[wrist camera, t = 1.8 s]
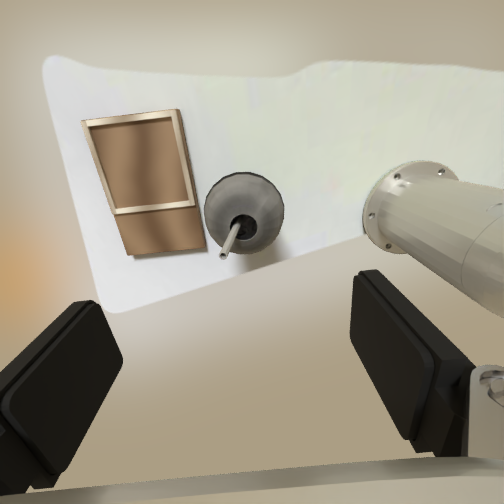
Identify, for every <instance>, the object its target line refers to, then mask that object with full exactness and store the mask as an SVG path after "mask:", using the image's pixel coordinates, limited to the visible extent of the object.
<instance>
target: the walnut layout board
mask: <svg viewBox="0 0 504 504" xmlns="http://www.w3.org/2000/svg"><path fill="white" fill-rule="evenodd" d="M80 122H81V125H82V128H83V131H84V134H85V137H86V139H87V142H88V145H89V148H90V151H91V154H92V157H93V160H94V163H95V165H96V168H97V171H98V174H99V177H100V180H101V183H102V186H103V189H104V192H105V194H106V197H107V200H108V203H109V206H110V209H111V212H112V214H113V215H114V218H115V221H116V223H117V226H118V229H119V232H120V235H121V238H122V241H123V244H124V247H125V250H126V253H127V255H128V256H129V255H139V254H148V253H157V252H167V251H176V250H186V249H195V248H204V247H205V246H206V241H205V236H204V231H203V226H202V221H201V216H200V211H199V206H198V201H197V196H196V191H195V186H194V181H193V175H192V170H191V165H190V160H189V155H188V150H187V145H186V140H185V135H184V130H183V125H182V120H181V115H180V110H179V109H171V110H163V111H154V112H146V113H138V114H130V115H122V116H113V117H105V118H97V119H89V120H81V121H80Z"/></svg>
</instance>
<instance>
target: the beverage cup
mask: <svg viewBox="0 0 504 504" xmlns="http://www.w3.org/2000/svg"><path fill="white" fill-rule="evenodd" d="M204 215H205V223H206V227H207V229H208V231H209V233H210V236H211V237H212V238H213V239H214V240H215V241H216V243H217V244H218V245H219V246H221V247H222V250H221V252H220V254H219V257H220V258H221V259H223V260H224V259H226V258H227V256H228V254H229V252H233V253H236V254H253V253H256V252H259V251H261V250H263V249H264V248H266V247H267V246H269V245H270V244H271V243H272V242H273V241H274V240H275V238H276V237H277V236H278V234H279V232H280V229H281V226H282V223H283V220H284V204H283V201H282V197H281V194H280V193H279V191H278V190H277V189H276V187H275V186H274V184H273V183H271V182H270V181H269V180H267V179H266V178H264V177H263V176H261V175H258V174H254V173H251V172H236V173H233V174H230V175H227V176H225V177H223V178H222V179H220V180H219V181H218V182H217V183H216V184H214V185H213V187H212V188H211V190H210V191H209V193H208V195H207V196H206V201H205V205H204Z"/></svg>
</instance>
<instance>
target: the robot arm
mask: <svg viewBox="0 0 504 504" xmlns="http://www.w3.org/2000/svg"><path fill="white" fill-rule="evenodd" d="M394 175H395V177H394ZM370 213H371V214H370ZM369 214H370V215H369ZM363 224H364V228H365V231H366V233H367V235H368V237H369V238H370V240H371V241H372V242H373V243H374V244H375V245H377V246H378V247H379V248H381V249H383V250H384V251H387V252H391V253H396V254H406V253H408V254H409V255H410V256H412V257H413V258H415V259H416V260H417V261H419V262H420V263H422V264H423V265H424V266H426V267H427V268H429V269H430V270H431V271H433V272H434V273H436V274H437V275H438V276H440V277H441V278H443V279H444V280H446V281H447V282H448V283H450V284H451V285H453V286H454V287H455V288H457V289H458V290H460V291H461V292H462V293H464V294H465V295H467V296H468V297H470V298H471V299H472V300H474V301H476V302H477V303H478V304H480V305H481V306H483V307H484V308H486V309H487V310H489V311H491V312H492V313H494V314H496V315H498V316H500V317H503V318H504V189H499V188H494V187H489V186H484V185H479V184H474V183H469V182H463V181H459V179H458V178H457V176H456V175H455V173H454V172H453V171H452V170H451V169H449V168H448V167H447V166H445V165H442V164H440V163H436V162H432V161H414V162H410V163H406V164H403V165H401V166H399V167H397V168H395V169H393V170H392V171H390V172H389V173H387V174H386V175H385V176H384V177H383V178H382V179H381V180H380V181H379V182H378V183H377V184H376V185H375V186H374V188H373V189H372V191H371V192H370V194H369V196H368V198H367V200H366V204H365V207H364V212H363ZM350 339H351V342H352V344H353V346H354V348H355V350H356V352H357V354H358V356H359V358H360V359H361V361H362V363H363V365H364V367H365V369H366V371H367V373H368V375H369V377H370V378H371V380H372V382H373V384H374V386H375V388H376V390H377V392H378V393H379V395H380V397H381V399H382V401H383V403H384V405H385V407H386V409H387V411H388V412H389V414H390V416H391V418H392V420H393V422H394V424H395V426H396V428H397V429H398V431H399V433H400V435H401V436H402V437H403V439H405V440H409V441H410V443H411V445H412V446H413V448H414V450H415V452H416V453H423V452H433V454H434V455H435V457H426V458H411V459H398V460H397V459H396V460H383V461H367V462H353V463H342V464H331V465H320V466H308V467H297V468H286V469H274V470H263V471H252V472H241V473H230V474H220V475H209V476H198V477H188V478H177V479H167V480H156V481H146V482H135V483H125V484H115V485H106V486H95V487H86V488H85V487H84V488H75V489H65V490H55V491H45V492H36V493H26V491H27V489H28V488H29V486H30V485H31V486H32V487H33V488H34V489H43V488H52V487H54V485H55V483H56V482H57V480H58V478H59V476H60V474H61V473H62V472H64V471H65V470H66V469H67V468H68V466H69V464H70V462H71V461H72V459H73V457H74V455H75V453H76V451H77V449H78V447H79V446H80V444H81V442H82V440H83V438H84V436H85V434H86V433H87V431H88V429H89V427H90V425H91V423H92V421H93V420H94V418H95V416H96V414H97V412H98V410H99V408H100V406H101V405H102V403H103V401H104V399H105V397H106V395H107V393H108V392H109V390H110V388H111V386H112V384H113V382H114V380H115V379H116V377H117V375H118V373H119V371H120V369H121V367H122V364H123V357H122V354H121V352H120V350H119V347H118V345H117V343H116V341H115V338H114V336H113V334H112V331H111V329H110V327H109V325H108V322H107V320H106V318H105V315H104V313H103V311H102V308H101V306H100V305H99V304H97V303H96V302H94V301H92V300H87V301H78V302H74V303H72V304H71V305H70V306H69V307H68V308H67V309H66V310H65V311H64V312H63V313H62V314H61V315H60V316H59V317H57V318H56V320H54V321H53V322H52V323H51V324H50V325H49V326H48V327H47V328H46V329H45V330H44V331H43V332H42V333H41V334H40V335H39V336H38V337H37V338H36V339H35V340H34V341H33V342H31V343H30V344H29V345H28V346H27V347H26V348H25V349H24V350H23V351H22V352H21V353H20V354H19V355H18V356H17V357H16V358H15V359H14V360H13V361H11V363H9V364H8V365H7V366H6V367H5V368H4V369H3V370H2V371H1V372H0V504H504V367H502V366H497V365H483V366H478V367H476V366H475V365H474V364H473V363H472V362H471V361H470V360H469V359H468V358H467V357H466V356H465V355H464V354H463V353H462V352H461V351H460V350H459V349H458V348H457V347H456V346H455V345H454V344H453V343H452V342H451V341H450V340H449V339H448V338H447V337H446V336H445V335H444V334H443V333H442V332H441V331H440V330H439V329H438V328H437V327H436V326H435V325H434V324H432V322H431V321H430V320H429V319H427V318H426V317H425V316H424V315H423V314H422V313H421V312H420V311H419V310H418V309H417V308H416V307H415V306H414V305H413V304H412V303H411V302H410V301H409V300H408V299H407V298H406V297H405V296H404V295H403V294H402V293H401V292H400V291H399V290H398V289H397V288H396V287H395V286H394V285H393V284H392V283H391V282H390V281H388V279H387V278H385V276H384V275H382V274H381V273H380V272H379V271H378V270H366V271H360V272H359V273H358V275H357V276H354V279H353V293H352V307H351V321H350Z"/></svg>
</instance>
